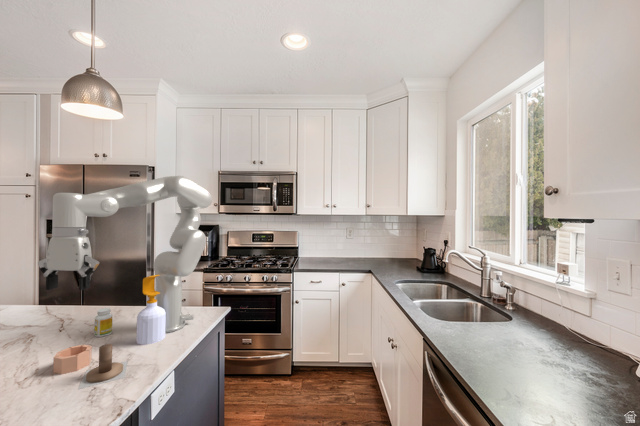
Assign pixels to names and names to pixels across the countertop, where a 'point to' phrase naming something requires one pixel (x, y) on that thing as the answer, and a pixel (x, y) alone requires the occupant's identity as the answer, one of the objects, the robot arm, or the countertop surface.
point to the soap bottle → (150, 316)
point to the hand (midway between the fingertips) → (68, 288)
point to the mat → (87, 384)
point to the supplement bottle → (103, 323)
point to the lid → (104, 366)
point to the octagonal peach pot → (72, 359)
